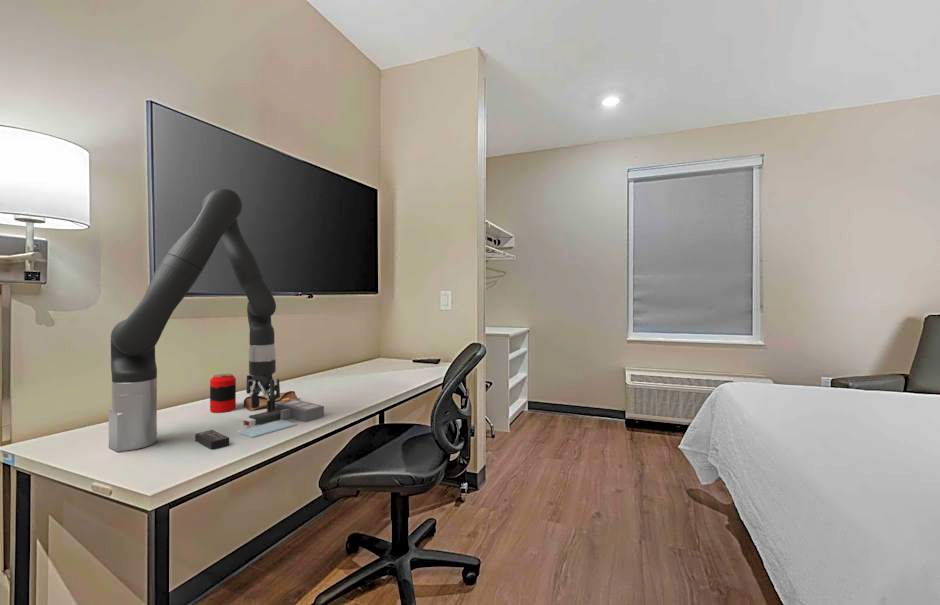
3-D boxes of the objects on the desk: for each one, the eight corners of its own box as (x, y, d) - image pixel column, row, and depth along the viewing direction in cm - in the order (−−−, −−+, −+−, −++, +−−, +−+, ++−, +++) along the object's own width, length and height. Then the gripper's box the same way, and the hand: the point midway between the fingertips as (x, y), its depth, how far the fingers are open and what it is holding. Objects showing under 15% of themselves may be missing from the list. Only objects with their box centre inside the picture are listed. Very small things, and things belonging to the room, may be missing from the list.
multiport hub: (211, 451, 106) (211, 442, 106) (194, 441, 113) (194, 433, 113) (229, 446, 110) (229, 437, 110) (212, 437, 116) (212, 429, 116)
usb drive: (286, 418, 135) (286, 410, 135) (251, 428, 125) (251, 419, 125) (276, 415, 138) (276, 407, 138) (241, 425, 127) (241, 416, 127)
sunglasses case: (249, 411, 141) (247, 393, 143) (244, 418, 145) (242, 399, 148) (303, 403, 153) (300, 386, 155) (297, 409, 157) (294, 392, 160)
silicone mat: (252, 438, 115) (252, 436, 115) (238, 433, 119) (238, 431, 119) (296, 425, 127) (296, 423, 127) (282, 421, 131) (282, 419, 131)
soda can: (212, 414, 137) (213, 378, 137) (207, 409, 143) (207, 374, 142) (238, 410, 142) (238, 375, 142) (232, 405, 148) (232, 372, 148)
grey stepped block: (297, 424, 128) (297, 410, 128) (265, 415, 137) (265, 402, 137) (323, 416, 136) (324, 403, 136) (292, 408, 145) (292, 396, 145)
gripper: (237, 358, 131) (238, 409, 131) (264, 362, 123) (265, 416, 124) (260, 355, 137) (261, 403, 138) (287, 358, 129) (287, 410, 130)
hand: (263, 409), depth 131 cm, fingers open, 8 cm apart
